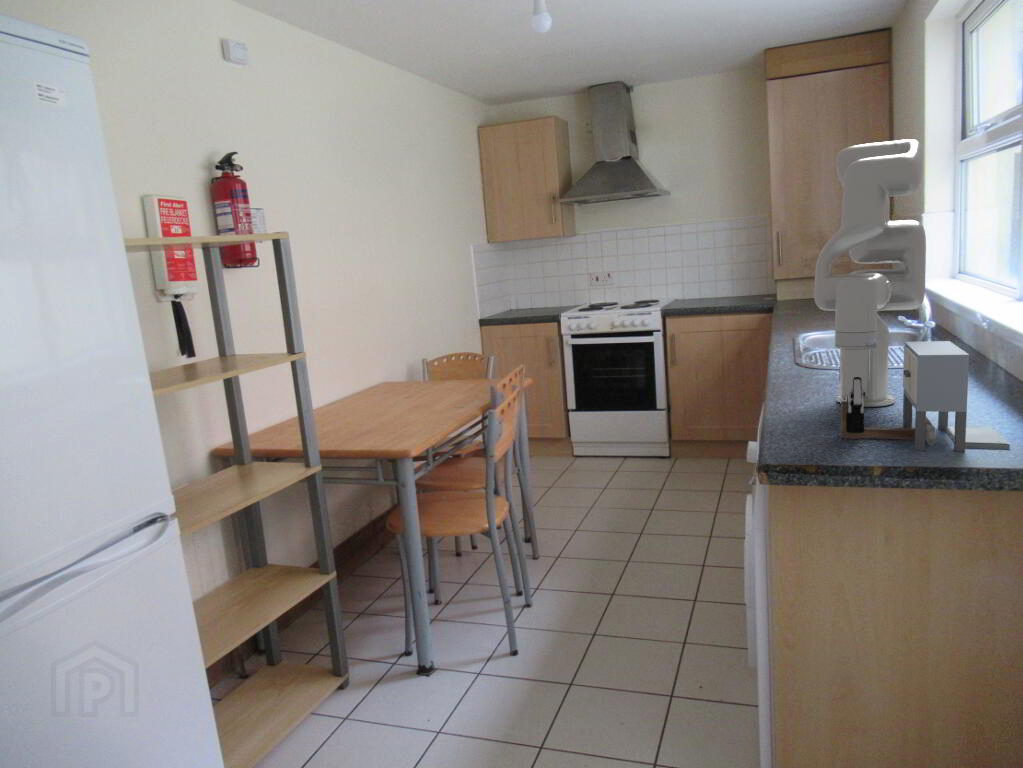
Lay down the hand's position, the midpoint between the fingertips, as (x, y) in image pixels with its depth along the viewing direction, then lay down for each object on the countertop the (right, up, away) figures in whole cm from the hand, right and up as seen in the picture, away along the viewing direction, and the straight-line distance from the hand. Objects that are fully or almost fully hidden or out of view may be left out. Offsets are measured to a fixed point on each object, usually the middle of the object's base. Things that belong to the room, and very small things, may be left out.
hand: (854, 429), depth 151 cm
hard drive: (+20, -2, -7) cm, 22 cm away
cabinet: (+13, -2, -5) cm, 14 cm away
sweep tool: (+5, -2, -2) cm, 6 cm away
